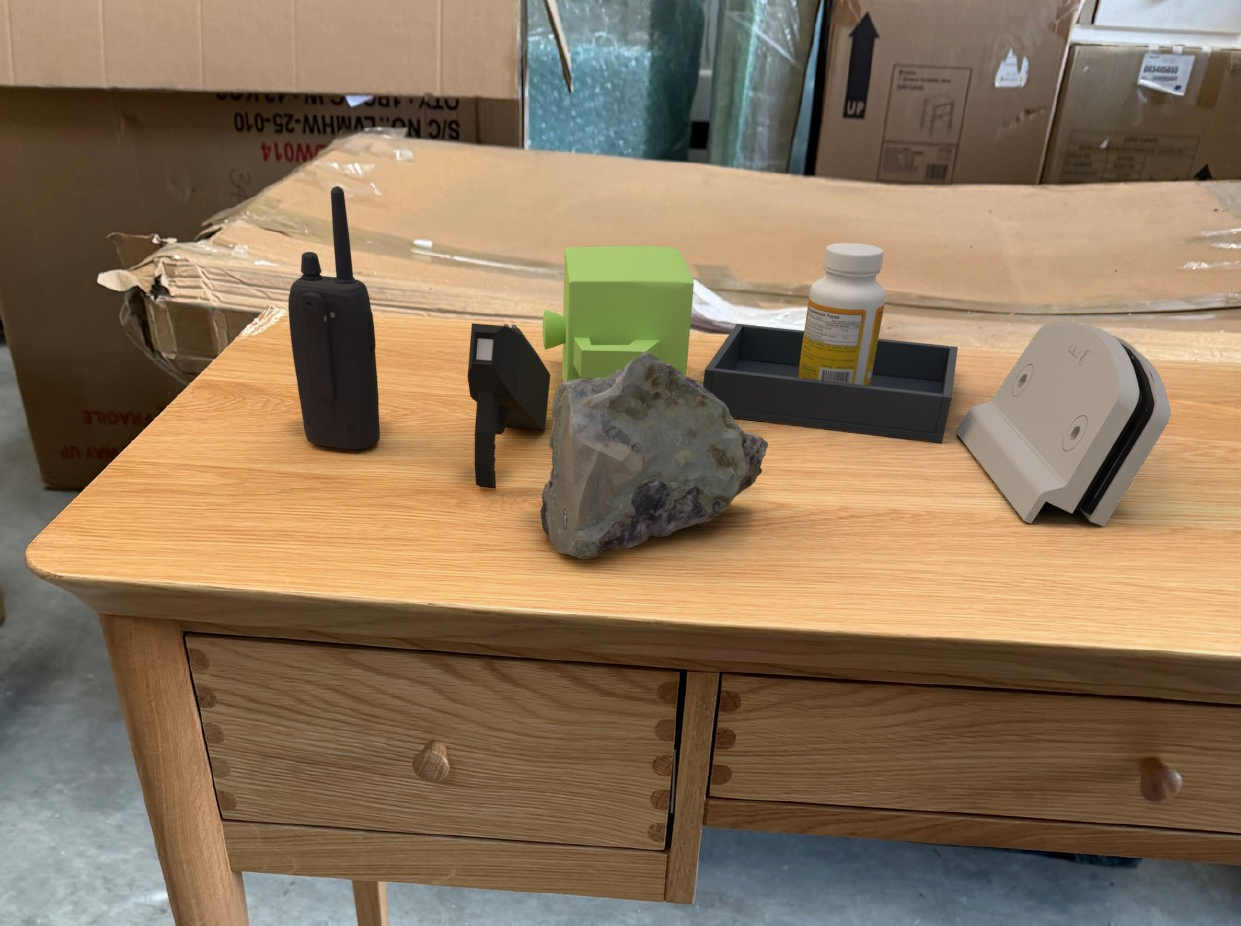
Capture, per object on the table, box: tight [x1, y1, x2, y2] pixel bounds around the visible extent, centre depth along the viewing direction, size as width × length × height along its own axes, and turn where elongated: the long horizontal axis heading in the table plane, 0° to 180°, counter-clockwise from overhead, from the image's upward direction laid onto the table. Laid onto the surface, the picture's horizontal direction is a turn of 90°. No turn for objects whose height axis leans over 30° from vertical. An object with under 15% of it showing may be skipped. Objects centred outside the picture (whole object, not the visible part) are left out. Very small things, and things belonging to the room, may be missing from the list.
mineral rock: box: [539, 352, 769, 560], centre depth 65 cm, size 13×11×10 cm
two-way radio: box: [287, 185, 381, 452], centre depth 73 cm, size 6×4×15 cm
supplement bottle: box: [798, 242, 887, 386], centre depth 85 cm, size 5×5×10 cm
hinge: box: [955, 320, 1172, 527], centre depth 75 cm, size 17×5×10 cm, turn 0°
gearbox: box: [542, 245, 695, 382], centre depth 85 cm, size 18×10×10 cm, turn 2°
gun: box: [467, 323, 551, 490], centre depth 76 cm, size 3×16×10 cm, turn 170°
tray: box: [702, 323, 959, 444], centre depth 87 cm, size 17×13×3 cm
